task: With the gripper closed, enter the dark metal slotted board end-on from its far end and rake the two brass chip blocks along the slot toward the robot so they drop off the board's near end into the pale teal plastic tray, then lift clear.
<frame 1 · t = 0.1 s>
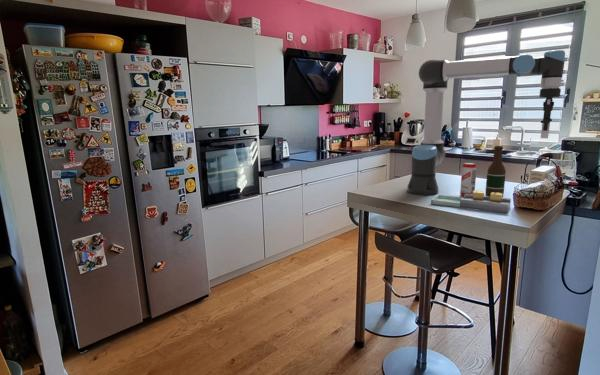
hand: (544, 137, 162), 28 cm above the countertop, fingers open, 13 cm apart
tray: (448, 202, 163), on the countertop
chip back: (477, 200, 156), point 2 cm above the countertop, touching slot board
white red canister: (467, 196, 174), on the countertop
slot board: (484, 207, 155), on the countertop
chip front: (495, 202, 152), point 2 cm above the countertop, touching slot board
beer bottle: (494, 196, 172), on the countertop
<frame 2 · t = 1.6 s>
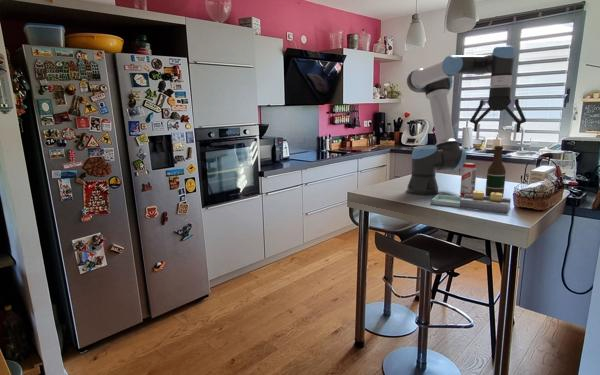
hand: (495, 139, 150), 29 cm above the countertop, fingers open, 13 cm apart
nothing on the countertop moved.
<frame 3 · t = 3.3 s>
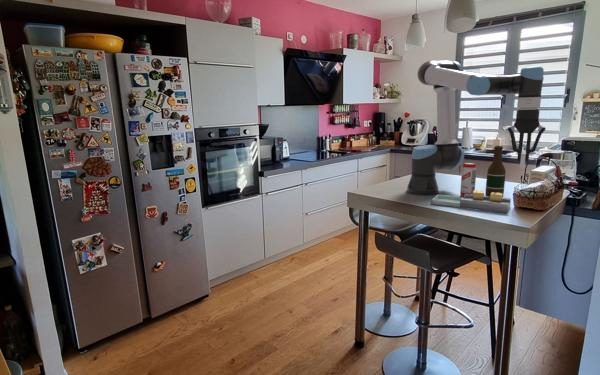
hand: (522, 169, 144), 17 cm above the countertop, fingers closed
nothing on the countertop moved.
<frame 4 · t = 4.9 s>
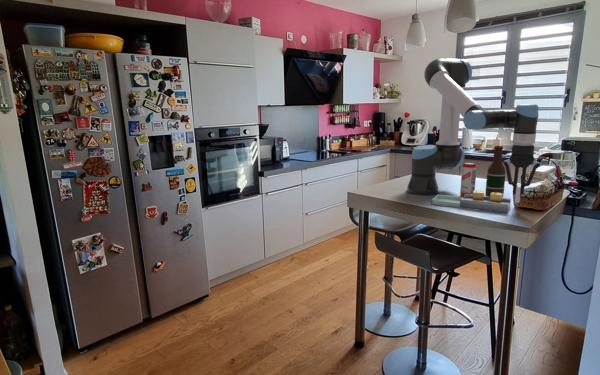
hand: (517, 201, 148), 4 cm above the countertop, fingers closed
nothing on the countertop moved.
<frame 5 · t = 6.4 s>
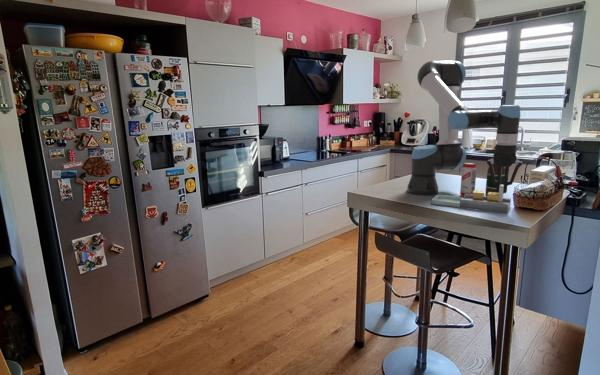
hand: (500, 200, 151), 4 cm above the countertop, fingers closed
chip front: (492, 202, 153), point 3 cm above the countertop, touching gripper
everything else where it was.
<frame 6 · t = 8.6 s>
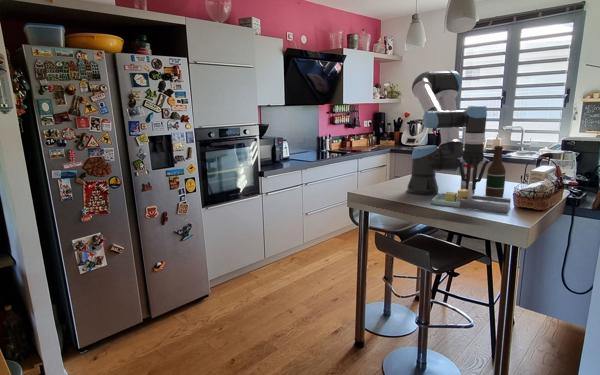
hand: (469, 196, 158), 4 cm above the countertop, fingers closed
chip back: (455, 198, 161), point 2 cm above the countertop, tilted 90°, touching tray
chip front: (462, 199, 159), point 3 cm above the countertop, touching gripper
everything else where it was.
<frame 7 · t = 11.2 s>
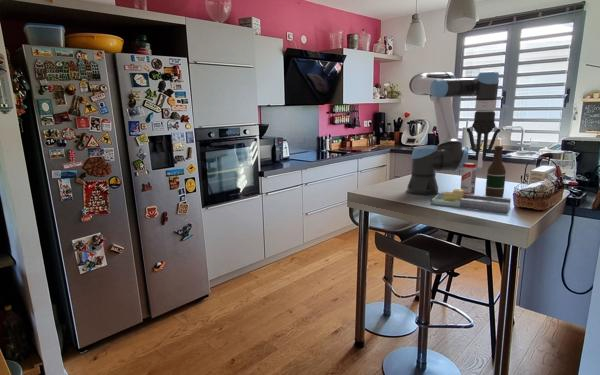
hand: (479, 167, 153), 17 cm above the countertop, fingers closed
chip back: (454, 197, 162), point 3 cm above the countertop, tilted 94°, touching chip front, tray
chip front: (458, 198, 160), point 2 cm above the countertop, touching chip back, slot board
everything else where it was.
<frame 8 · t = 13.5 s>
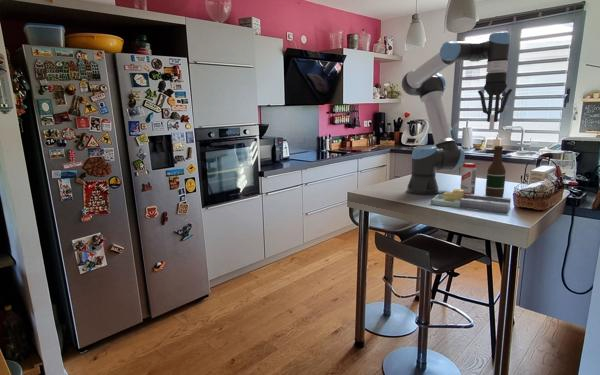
hand: (491, 129, 155), 32 cm above the countertop, fingers closed
nothing on the countertop moved.
at the end: chip front inside the target area on the tray (4.2 cm from its centre), point 2.4 cm above the tray's base; chip back inside the target area on the tray (2.2 cm from its centre), point 2.8 cm above the tray's base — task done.
